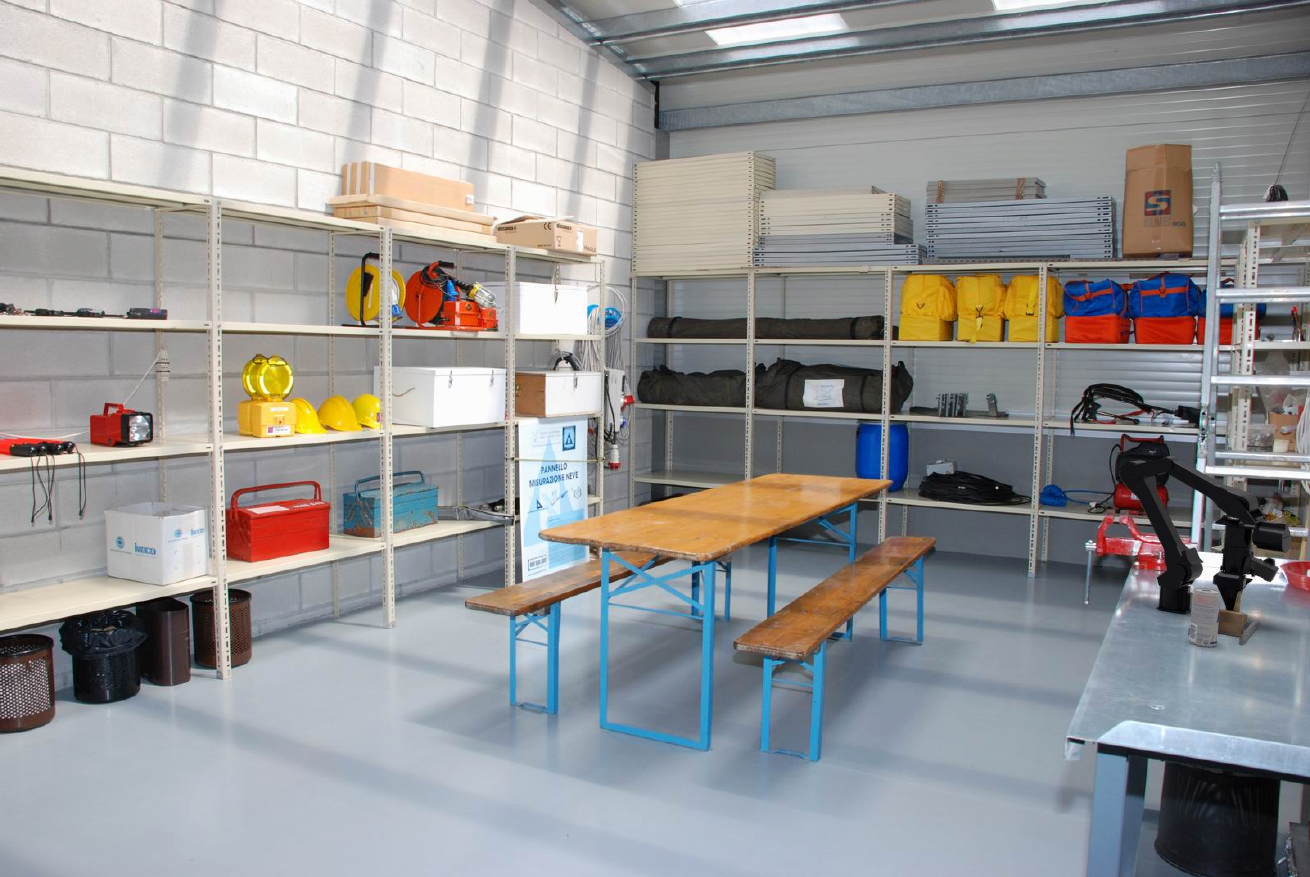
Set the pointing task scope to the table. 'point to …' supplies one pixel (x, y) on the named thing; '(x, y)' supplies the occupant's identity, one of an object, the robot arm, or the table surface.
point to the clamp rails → (1246, 633)
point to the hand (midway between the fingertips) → (1232, 609)
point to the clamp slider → (1232, 620)
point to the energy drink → (1204, 617)
